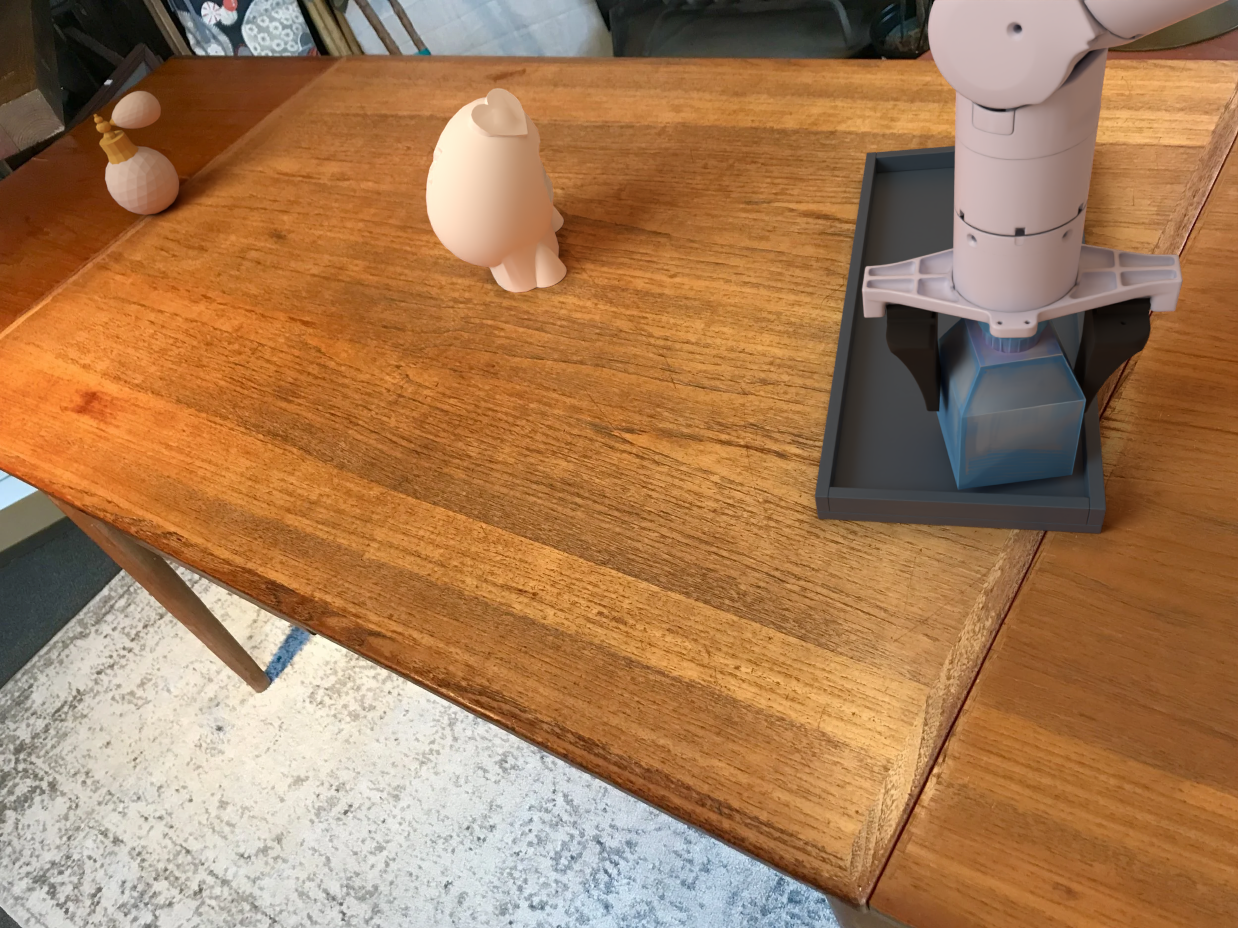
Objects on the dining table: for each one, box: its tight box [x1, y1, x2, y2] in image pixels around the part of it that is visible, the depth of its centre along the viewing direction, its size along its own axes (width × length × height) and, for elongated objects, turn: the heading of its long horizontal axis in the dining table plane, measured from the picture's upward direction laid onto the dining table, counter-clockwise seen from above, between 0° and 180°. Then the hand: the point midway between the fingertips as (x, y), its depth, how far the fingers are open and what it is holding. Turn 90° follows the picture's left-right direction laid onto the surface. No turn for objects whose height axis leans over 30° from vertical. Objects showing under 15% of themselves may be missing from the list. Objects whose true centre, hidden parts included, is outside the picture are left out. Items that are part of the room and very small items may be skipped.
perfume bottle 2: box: [937, 318, 1086, 489], centre depth 51 cm, size 6×6×12 cm
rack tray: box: [814, 145, 1107, 534], centre depth 64 cm, size 16×36×2 cm, turn 165°
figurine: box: [425, 87, 567, 293], centre depth 78 cm, size 11×11×15 cm
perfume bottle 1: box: [93, 90, 180, 216], centre depth 104 cm, size 8×10×12 cm
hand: (1003, 399), depth 53 cm, fingers closed on perfume bottle 2, 7 cm apart
